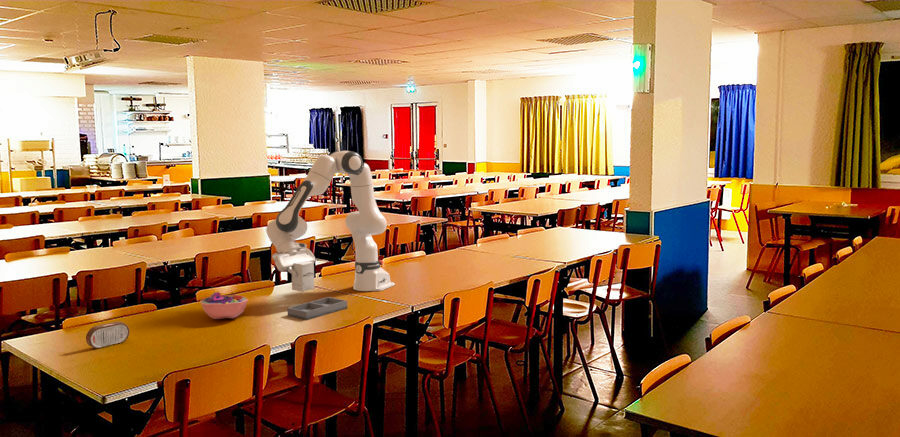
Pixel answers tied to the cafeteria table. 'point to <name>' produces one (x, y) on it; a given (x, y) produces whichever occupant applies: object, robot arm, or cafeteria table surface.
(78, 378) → the cafeteria table surface
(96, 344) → the tin
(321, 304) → the grey divided tray
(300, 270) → the supplement box
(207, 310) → the cell model
